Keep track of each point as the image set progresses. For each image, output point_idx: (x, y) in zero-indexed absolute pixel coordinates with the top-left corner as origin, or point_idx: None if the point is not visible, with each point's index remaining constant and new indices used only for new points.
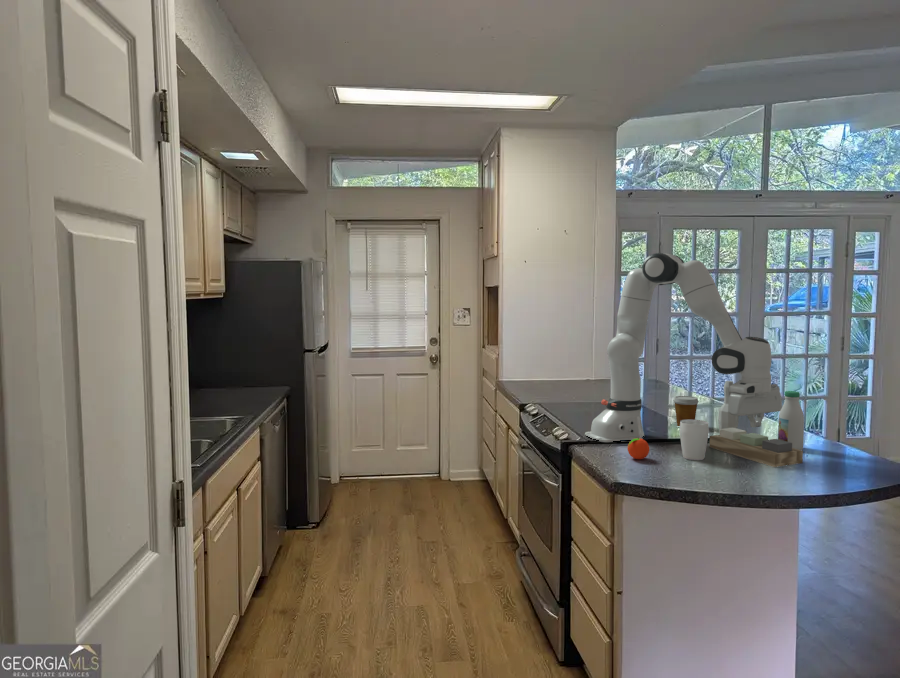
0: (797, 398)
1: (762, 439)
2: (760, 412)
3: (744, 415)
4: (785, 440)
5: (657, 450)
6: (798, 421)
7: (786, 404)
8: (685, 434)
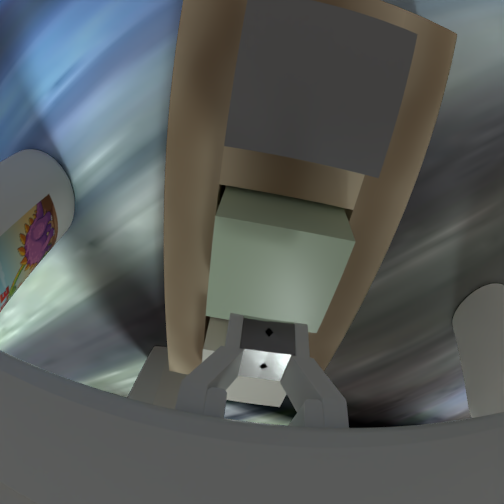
0: None
1: (278, 219)
2: (263, 434)
3: (463, 419)
4: (48, 207)
5: (447, 382)
6: None
7: None
8: None
